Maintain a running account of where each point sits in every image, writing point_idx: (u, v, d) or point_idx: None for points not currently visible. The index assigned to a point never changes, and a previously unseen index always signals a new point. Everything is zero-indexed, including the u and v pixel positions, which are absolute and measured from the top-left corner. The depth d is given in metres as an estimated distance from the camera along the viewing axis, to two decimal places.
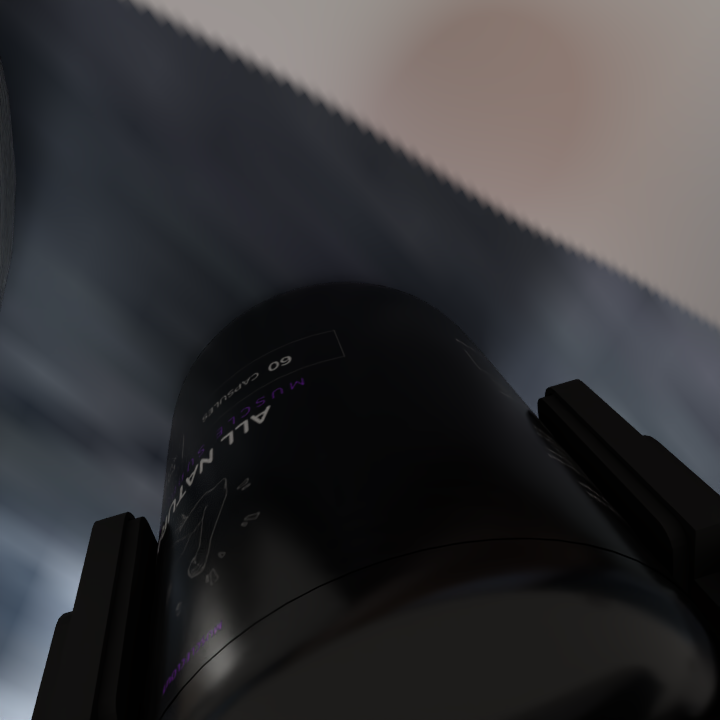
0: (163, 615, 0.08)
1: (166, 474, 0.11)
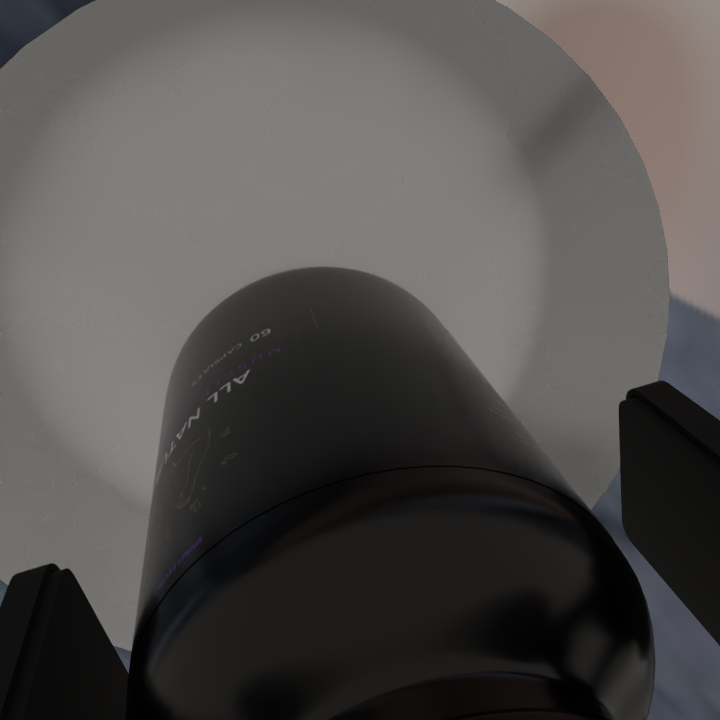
0: (155, 543, 0.09)
1: (160, 436, 0.12)
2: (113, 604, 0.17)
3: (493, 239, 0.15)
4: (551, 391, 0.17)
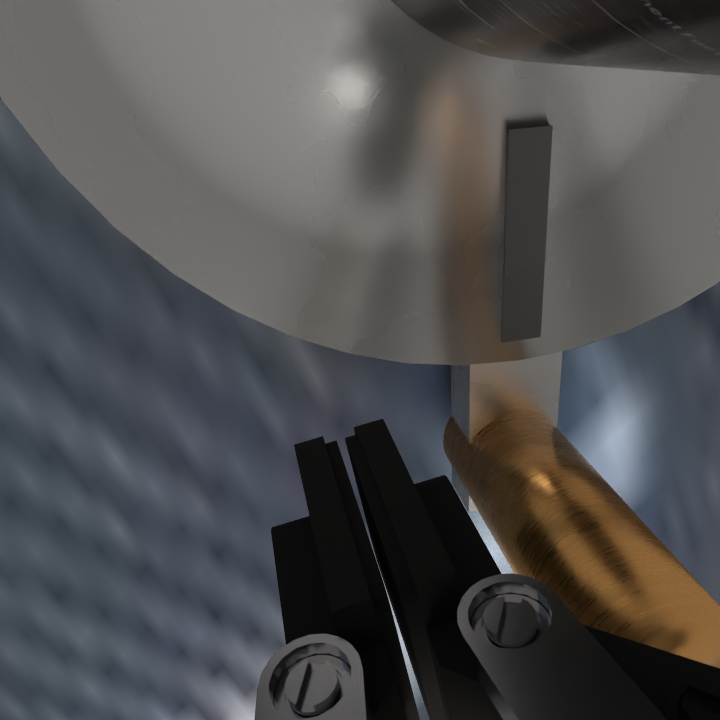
0: None
1: None
2: (138, 148, 0.11)
3: None
4: None
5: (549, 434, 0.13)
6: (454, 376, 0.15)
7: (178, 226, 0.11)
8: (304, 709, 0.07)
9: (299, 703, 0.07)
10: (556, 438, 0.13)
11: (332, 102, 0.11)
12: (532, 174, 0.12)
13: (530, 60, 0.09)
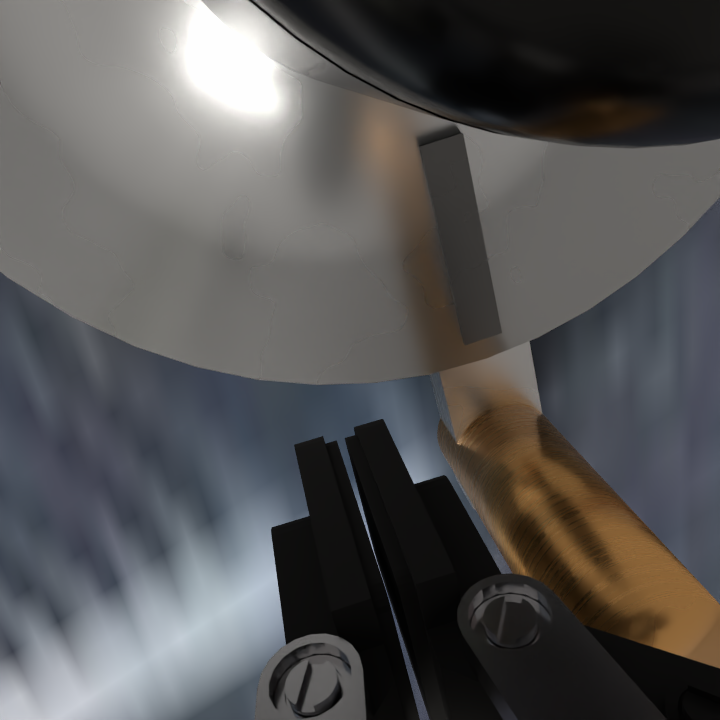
0: None
1: None
2: (73, 242, 0.11)
3: None
4: None
5: (529, 425, 0.14)
6: (433, 382, 0.15)
7: (128, 302, 0.12)
8: (304, 709, 0.07)
9: (299, 703, 0.07)
10: (536, 428, 0.14)
11: (242, 159, 0.11)
12: (455, 181, 0.12)
13: None
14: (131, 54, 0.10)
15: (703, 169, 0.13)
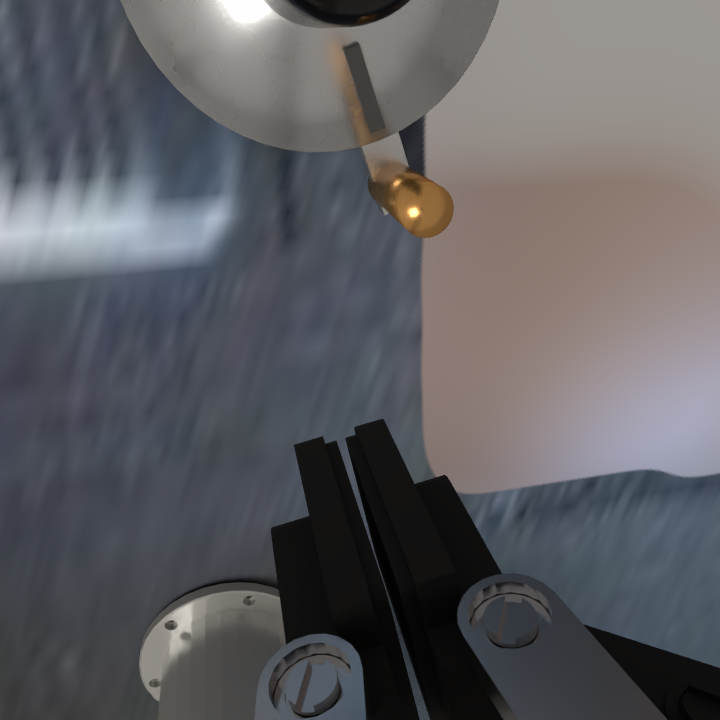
0: None
1: None
2: (220, 92, 0.31)
3: None
4: None
5: (399, 165, 0.34)
6: (362, 158, 0.35)
7: (239, 117, 0.32)
8: (304, 709, 0.07)
9: (299, 703, 0.07)
10: (402, 166, 0.33)
11: (278, 58, 0.31)
12: (358, 63, 0.32)
13: None
14: (239, 21, 0.30)
15: (459, 54, 0.33)
